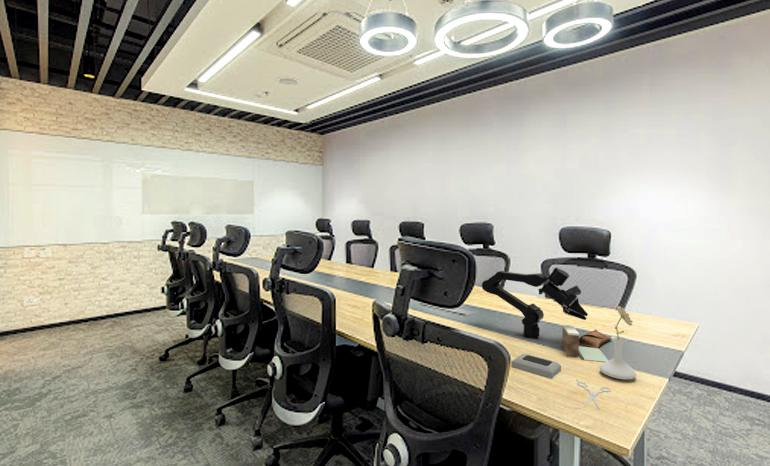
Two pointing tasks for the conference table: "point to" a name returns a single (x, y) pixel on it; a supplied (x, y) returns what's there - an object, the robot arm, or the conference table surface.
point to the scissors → (593, 395)
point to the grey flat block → (536, 365)
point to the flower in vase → (619, 354)
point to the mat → (591, 354)
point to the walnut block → (570, 341)
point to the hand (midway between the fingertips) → (586, 317)
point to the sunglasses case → (593, 339)
